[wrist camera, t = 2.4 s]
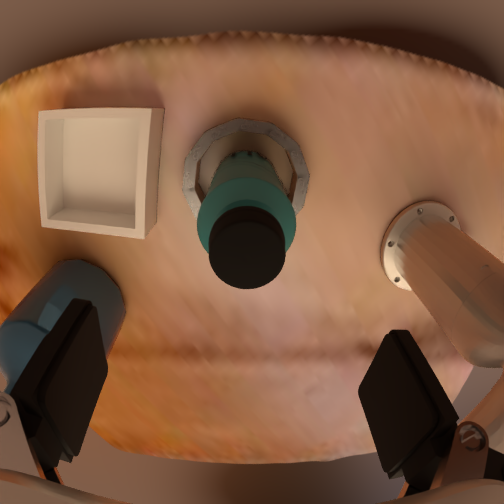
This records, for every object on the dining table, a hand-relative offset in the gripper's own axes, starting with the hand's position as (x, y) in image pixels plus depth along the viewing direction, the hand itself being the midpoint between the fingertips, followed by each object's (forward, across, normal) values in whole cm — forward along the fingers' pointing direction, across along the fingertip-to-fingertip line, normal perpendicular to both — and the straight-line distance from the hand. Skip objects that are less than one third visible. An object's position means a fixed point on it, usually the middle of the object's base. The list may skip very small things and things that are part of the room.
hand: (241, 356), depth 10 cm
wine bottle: (+27, +19, +19) cm, 38 cm away
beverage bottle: (+27, -1, 0) cm, 27 cm away
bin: (+27, +15, 0) cm, 31 cm away
